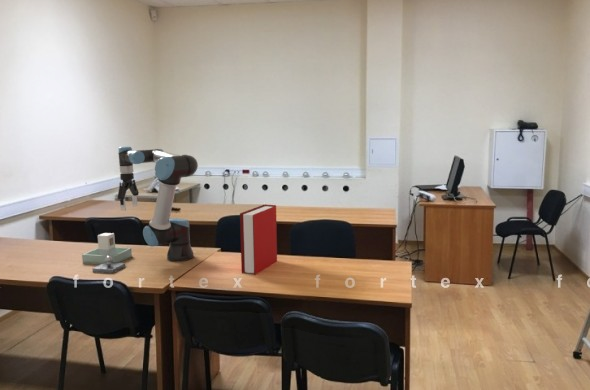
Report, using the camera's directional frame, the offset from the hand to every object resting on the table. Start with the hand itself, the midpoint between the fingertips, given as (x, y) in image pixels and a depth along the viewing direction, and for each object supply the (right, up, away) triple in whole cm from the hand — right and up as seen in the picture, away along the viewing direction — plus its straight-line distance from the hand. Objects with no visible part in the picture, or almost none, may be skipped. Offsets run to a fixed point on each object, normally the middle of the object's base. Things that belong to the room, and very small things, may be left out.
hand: (129, 208), depth 298 cm
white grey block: (-9, -29, -9) cm, 31 cm away
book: (+80, -31, -26) cm, 90 cm away
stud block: (-2, -32, -27) cm, 42 cm away
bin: (-9, -29, -9) cm, 32 cm away
